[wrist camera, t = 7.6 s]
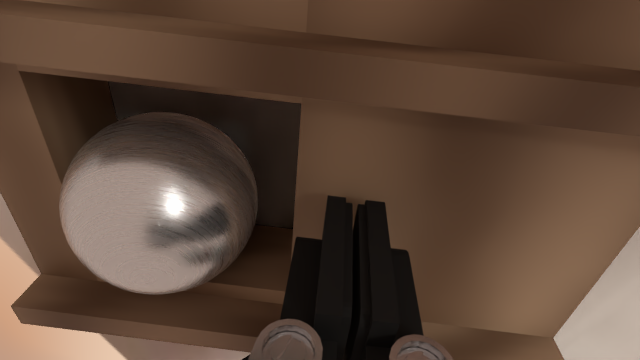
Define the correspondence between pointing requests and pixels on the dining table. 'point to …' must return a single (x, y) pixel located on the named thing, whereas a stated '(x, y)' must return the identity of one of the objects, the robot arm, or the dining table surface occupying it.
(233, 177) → the steel ball
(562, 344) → the dining table surface
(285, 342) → the robot arm
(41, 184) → the wooden box
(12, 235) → the dining table surface
